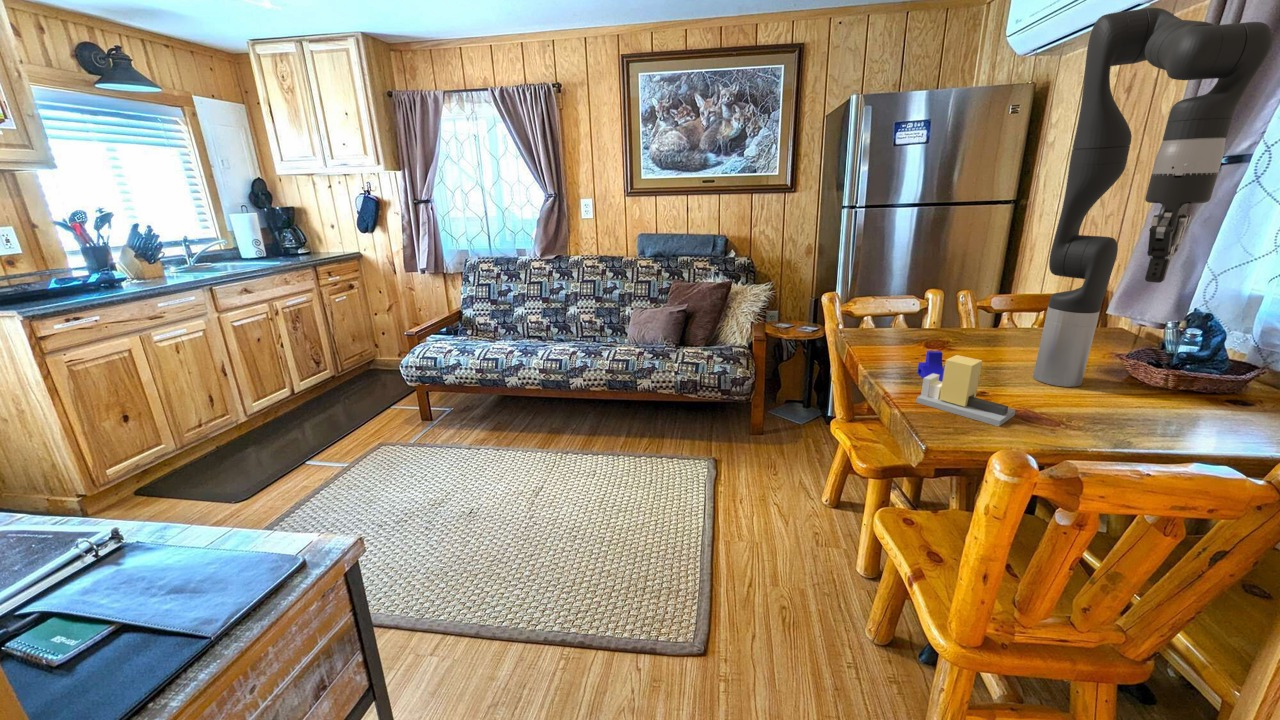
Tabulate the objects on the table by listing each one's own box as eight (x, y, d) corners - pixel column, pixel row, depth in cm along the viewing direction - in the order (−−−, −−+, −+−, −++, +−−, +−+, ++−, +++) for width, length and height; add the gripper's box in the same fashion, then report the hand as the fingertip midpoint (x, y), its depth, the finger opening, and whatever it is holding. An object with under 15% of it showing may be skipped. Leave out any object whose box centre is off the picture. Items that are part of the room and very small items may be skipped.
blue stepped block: (917, 373, 134) (920, 350, 133) (936, 374, 134) (940, 351, 132) (935, 391, 123) (939, 366, 121) (956, 392, 123) (961, 367, 121)
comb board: (933, 393, 122) (936, 371, 120) (1014, 415, 110) (1019, 391, 108) (916, 402, 117) (919, 379, 115) (998, 426, 105) (1003, 401, 103)
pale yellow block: (950, 393, 117) (956, 354, 115) (975, 400, 114) (982, 360, 111) (939, 399, 115) (945, 360, 112) (964, 406, 111) (972, 365, 108)
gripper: (1161, 171, 91) (1134, 274, 97) (1142, 172, 84) (1114, 284, 89) (1225, 170, 86) (1192, 279, 91) (1211, 170, 78) (1176, 290, 83)
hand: (1154, 281), depth 90 cm, fingers closed
